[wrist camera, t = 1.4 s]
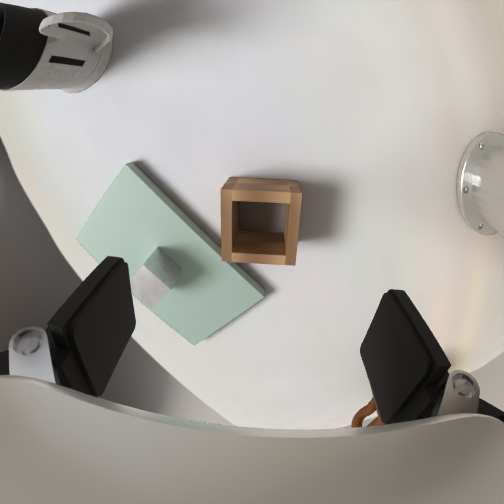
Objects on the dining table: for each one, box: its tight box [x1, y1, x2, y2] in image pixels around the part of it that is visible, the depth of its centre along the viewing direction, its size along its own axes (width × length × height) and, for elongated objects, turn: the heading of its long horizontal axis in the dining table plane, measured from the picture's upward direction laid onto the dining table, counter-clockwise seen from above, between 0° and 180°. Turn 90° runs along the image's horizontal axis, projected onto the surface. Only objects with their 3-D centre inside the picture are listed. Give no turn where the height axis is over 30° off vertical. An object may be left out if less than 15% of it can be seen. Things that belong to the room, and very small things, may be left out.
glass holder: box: [0, 3, 113, 93], centre depth 14 cm, size 9×14×15 cm, turn 80°
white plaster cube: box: [130, 247, 183, 308], centre depth 28 cm, size 4×4×4 cm
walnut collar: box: [221, 177, 302, 265], centre depth 25 cm, size 6×6×5 cm
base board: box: [76, 162, 265, 345], centre depth 30 cm, size 20×12×2 cm, turn 43°
